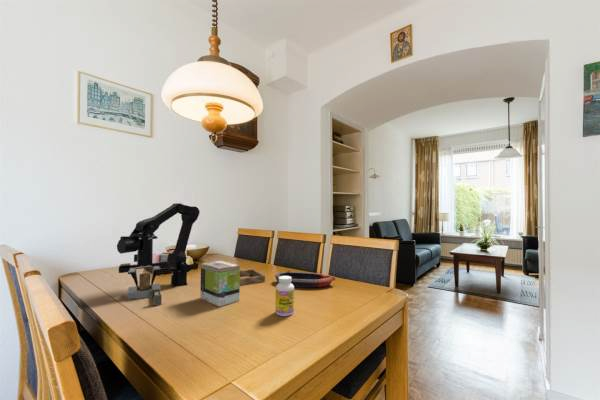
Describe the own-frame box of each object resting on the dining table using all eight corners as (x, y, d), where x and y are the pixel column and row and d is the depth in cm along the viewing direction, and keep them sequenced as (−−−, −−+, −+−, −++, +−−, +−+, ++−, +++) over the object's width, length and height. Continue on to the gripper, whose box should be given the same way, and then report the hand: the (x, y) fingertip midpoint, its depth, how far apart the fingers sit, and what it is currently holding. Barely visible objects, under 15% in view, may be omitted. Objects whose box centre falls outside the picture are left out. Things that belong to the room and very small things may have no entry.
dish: (280, 278, 145) (280, 269, 145) (337, 282, 137) (337, 272, 137) (269, 286, 130) (269, 276, 130) (333, 291, 122) (333, 280, 122)
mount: (159, 290, 123) (159, 283, 123) (160, 295, 116) (160, 288, 116) (128, 294, 117) (128, 287, 118) (127, 300, 110) (127, 293, 110)
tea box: (240, 301, 109) (240, 264, 110) (218, 307, 102) (218, 268, 103) (220, 292, 120) (221, 259, 120) (199, 298, 112) (199, 262, 113)
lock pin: (159, 295, 115) (160, 287, 115) (161, 304, 105) (161, 295, 105) (152, 296, 114) (152, 288, 114) (153, 305, 103) (153, 297, 103)
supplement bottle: (276, 317, 93) (276, 280, 93) (274, 310, 99) (274, 275, 100) (295, 316, 94) (295, 279, 95) (292, 309, 101) (292, 274, 101)
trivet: (253, 274, 152) (253, 269, 152) (264, 281, 138) (264, 275, 138) (223, 278, 144) (223, 272, 144) (232, 286, 129) (232, 280, 129)
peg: (149, 293, 119) (150, 272, 120) (149, 295, 116) (150, 274, 116) (139, 294, 117) (139, 273, 118) (139, 297, 114) (139, 275, 114)
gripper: (167, 246, 129) (167, 278, 128) (121, 249, 119) (120, 284, 119) (169, 249, 119) (168, 284, 119) (118, 252, 110) (118, 291, 109)
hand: (144, 286), depth 117 cm, fingers open, 5 cm apart
